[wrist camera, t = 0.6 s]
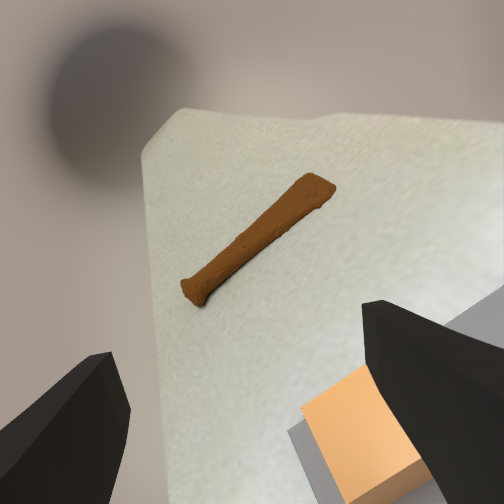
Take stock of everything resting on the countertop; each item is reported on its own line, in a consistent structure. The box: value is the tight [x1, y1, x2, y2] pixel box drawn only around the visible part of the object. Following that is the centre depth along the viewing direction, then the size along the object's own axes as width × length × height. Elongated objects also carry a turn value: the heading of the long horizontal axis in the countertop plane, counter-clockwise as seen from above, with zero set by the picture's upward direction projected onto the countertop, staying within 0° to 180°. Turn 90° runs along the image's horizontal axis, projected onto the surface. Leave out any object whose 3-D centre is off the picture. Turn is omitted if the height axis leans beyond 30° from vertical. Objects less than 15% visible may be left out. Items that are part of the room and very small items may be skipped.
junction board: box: [288, 285, 504, 504], centre depth 19 cm, size 14×21×4 cm, turn 113°
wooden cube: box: [301, 364, 433, 504], centre depth 21 cm, size 5×5×5 cm
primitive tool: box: [180, 173, 336, 306], centre depth 39 cm, size 19×6×4 cm, turn 125°
